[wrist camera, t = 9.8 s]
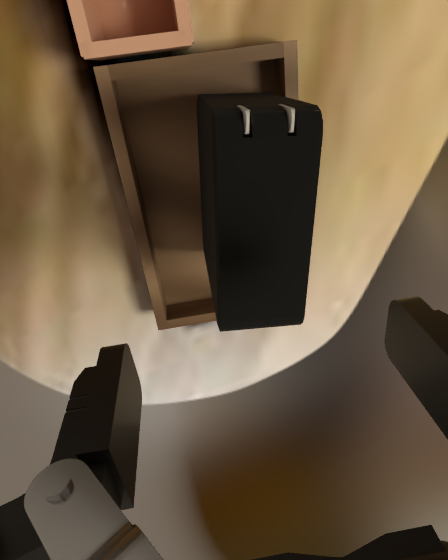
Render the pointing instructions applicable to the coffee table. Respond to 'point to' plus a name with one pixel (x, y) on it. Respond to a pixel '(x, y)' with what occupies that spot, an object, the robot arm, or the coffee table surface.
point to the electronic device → (258, 204)
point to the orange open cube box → (130, 27)
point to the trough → (178, 158)
